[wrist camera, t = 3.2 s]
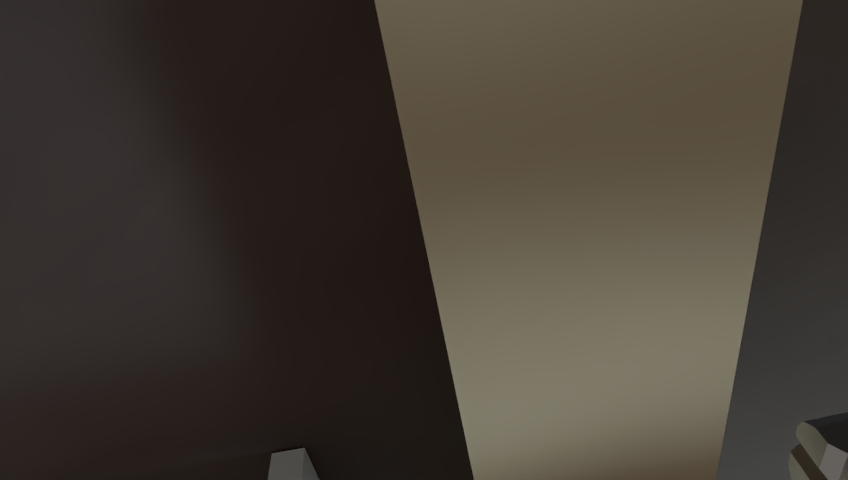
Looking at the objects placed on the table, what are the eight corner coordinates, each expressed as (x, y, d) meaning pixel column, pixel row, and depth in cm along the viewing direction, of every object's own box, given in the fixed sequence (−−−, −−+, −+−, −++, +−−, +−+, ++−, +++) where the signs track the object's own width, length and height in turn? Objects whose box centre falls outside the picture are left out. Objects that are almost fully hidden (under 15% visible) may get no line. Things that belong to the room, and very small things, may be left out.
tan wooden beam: (359, -135, 8) (351, -111, 4) (618, -189, 8) (841, -211, 4) (495, 555, 18) (528, 740, 14) (609, 536, 18) (672, 717, 14)
